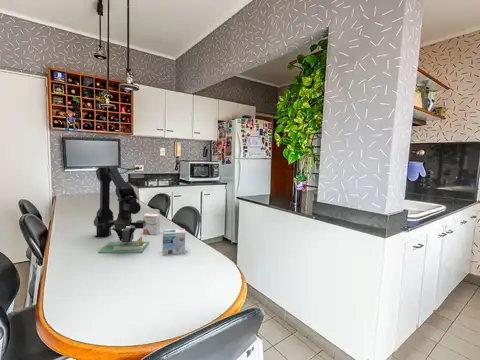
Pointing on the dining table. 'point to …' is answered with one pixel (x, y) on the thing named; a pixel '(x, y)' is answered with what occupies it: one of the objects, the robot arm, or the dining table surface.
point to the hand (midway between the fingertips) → (125, 240)
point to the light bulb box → (173, 241)
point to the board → (125, 247)
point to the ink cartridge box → (152, 222)
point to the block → (126, 235)
